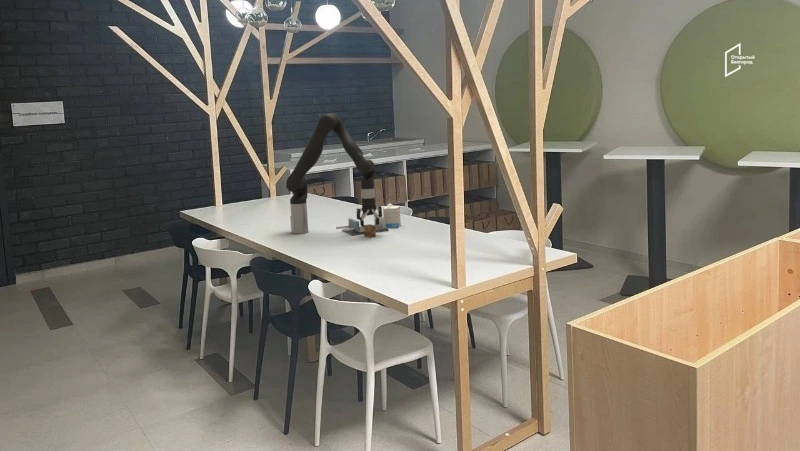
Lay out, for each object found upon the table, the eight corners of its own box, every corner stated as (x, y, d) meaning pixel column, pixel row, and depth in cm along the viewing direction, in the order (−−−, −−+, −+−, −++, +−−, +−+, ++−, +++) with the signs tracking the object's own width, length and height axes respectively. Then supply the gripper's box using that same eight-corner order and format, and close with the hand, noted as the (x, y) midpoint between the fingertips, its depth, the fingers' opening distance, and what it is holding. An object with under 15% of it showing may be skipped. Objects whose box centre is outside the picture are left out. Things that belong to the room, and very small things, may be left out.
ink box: (398, 228, 394) (397, 205, 391) (383, 228, 395) (382, 205, 393) (400, 225, 402) (400, 202, 399) (387, 225, 404) (386, 202, 401)
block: (369, 237, 371) (368, 227, 370) (364, 235, 377) (363, 225, 376) (376, 237, 373) (375, 226, 372) (371, 234, 379) (370, 224, 378)
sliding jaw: (342, 233, 377) (342, 223, 376) (335, 229, 387) (335, 220, 386) (359, 231, 381) (359, 221, 380) (352, 227, 391) (351, 218, 390)
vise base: (352, 235, 378) (351, 222, 377) (343, 231, 391) (342, 218, 389) (388, 230, 387) (387, 218, 386) (378, 226, 399) (378, 214, 398)
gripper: (358, 199, 364) (360, 228, 368) (383, 196, 370) (384, 225, 373) (353, 197, 371) (355, 226, 374) (377, 194, 377) (379, 223, 380)
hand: (370, 225), depth 374 cm, fingers open, 8 cm apart
